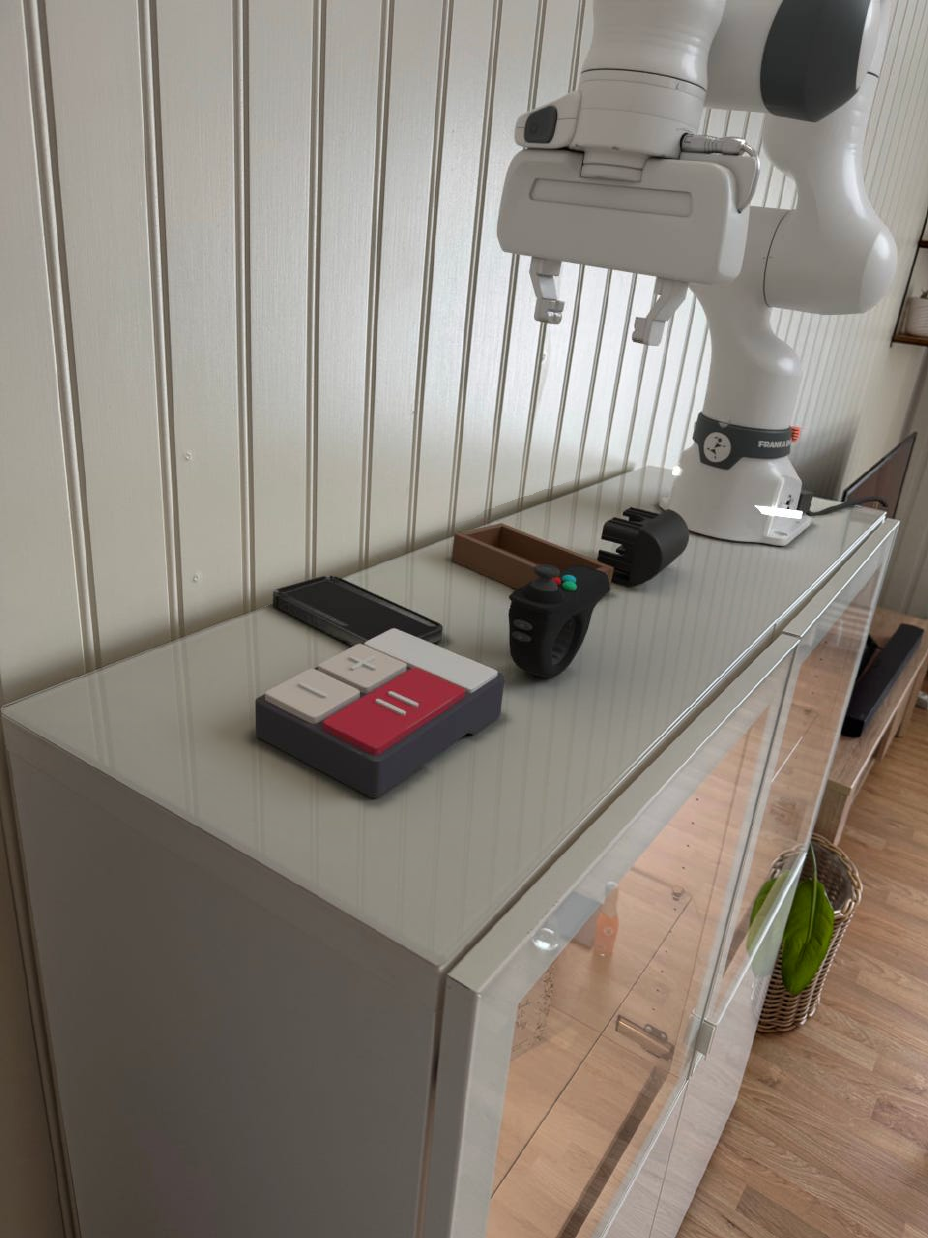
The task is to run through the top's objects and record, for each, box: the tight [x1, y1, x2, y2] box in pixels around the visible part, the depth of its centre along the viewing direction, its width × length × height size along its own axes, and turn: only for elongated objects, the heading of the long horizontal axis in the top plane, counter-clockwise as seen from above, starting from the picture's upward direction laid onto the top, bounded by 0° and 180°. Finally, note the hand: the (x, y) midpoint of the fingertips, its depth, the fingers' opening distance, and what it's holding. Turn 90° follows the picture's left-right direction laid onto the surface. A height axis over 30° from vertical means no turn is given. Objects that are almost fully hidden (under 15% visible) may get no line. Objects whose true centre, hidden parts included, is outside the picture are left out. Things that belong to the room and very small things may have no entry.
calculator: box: [254, 628, 505, 799], centre depth 66 cm, size 11×4×15 cm
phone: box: [272, 575, 444, 647], centre depth 83 cm, size 8×1×15 cm
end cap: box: [596, 506, 690, 587], centre depth 102 cm, size 10×7×7 cm
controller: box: [508, 564, 611, 679], centre depth 77 cm, size 4×12×10 cm, turn 146°
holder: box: [451, 522, 614, 597], centre depth 98 cm, size 8×16×3 cm, turn 46°
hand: (594, 333), depth 71 cm, fingers open, 8 cm apart
